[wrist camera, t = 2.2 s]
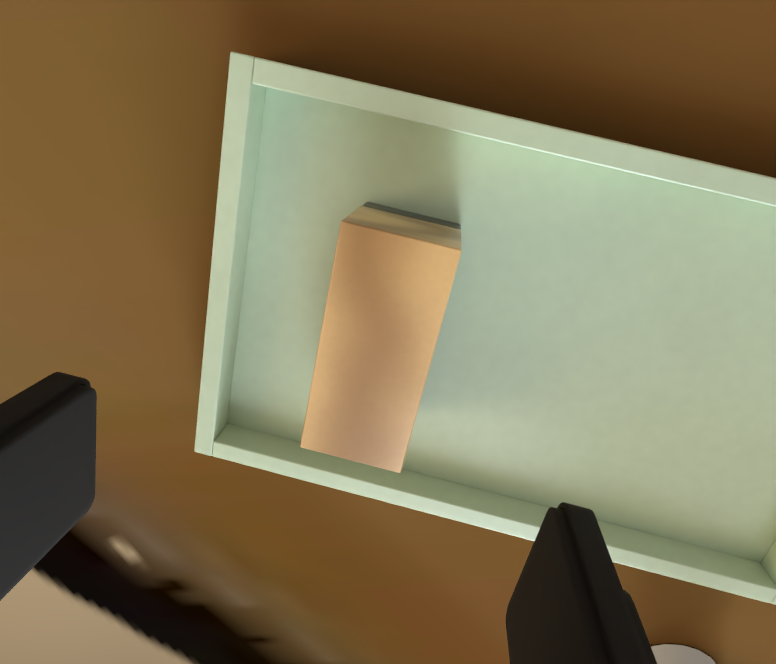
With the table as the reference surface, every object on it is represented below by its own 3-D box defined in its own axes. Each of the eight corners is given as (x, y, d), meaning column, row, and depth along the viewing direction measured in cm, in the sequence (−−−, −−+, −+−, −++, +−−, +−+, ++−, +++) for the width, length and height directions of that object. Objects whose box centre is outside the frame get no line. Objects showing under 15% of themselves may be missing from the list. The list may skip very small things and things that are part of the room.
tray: (978, 228, 18) (1049, 241, 16) (760, 566, 24) (789, 609, 22) (255, 59, 19) (229, 50, 17) (216, 424, 25) (193, 451, 23)
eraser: (461, 224, 19) (462, 249, 15) (411, 409, 22) (400, 474, 18) (366, 200, 19) (340, 220, 15) (329, 388, 22) (299, 447, 18)
